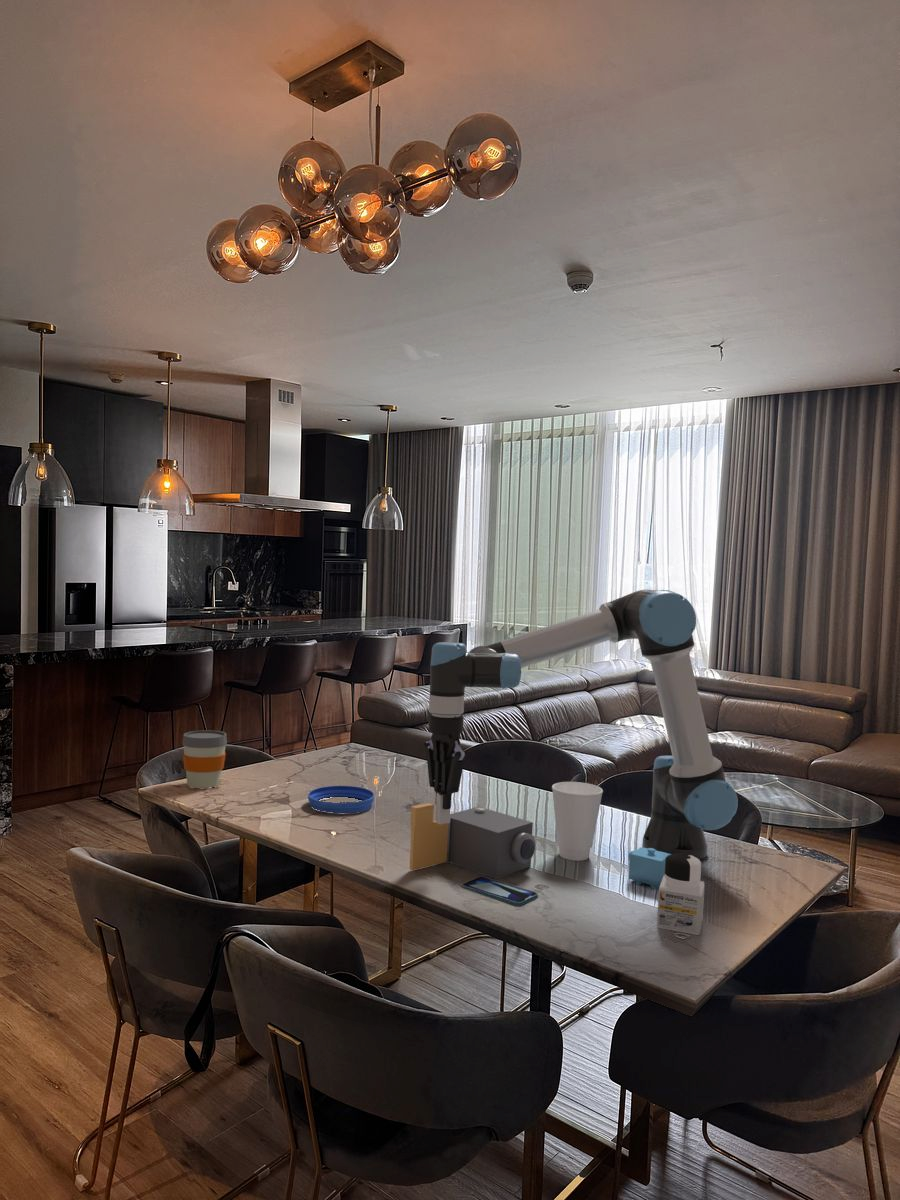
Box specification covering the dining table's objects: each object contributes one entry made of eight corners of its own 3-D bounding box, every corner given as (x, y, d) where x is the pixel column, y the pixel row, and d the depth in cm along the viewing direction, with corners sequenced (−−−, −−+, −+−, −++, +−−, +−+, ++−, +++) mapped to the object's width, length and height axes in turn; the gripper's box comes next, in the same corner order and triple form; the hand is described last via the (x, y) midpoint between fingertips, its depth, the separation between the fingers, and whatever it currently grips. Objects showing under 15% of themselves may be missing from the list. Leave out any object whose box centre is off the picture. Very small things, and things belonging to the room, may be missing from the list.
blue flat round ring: (366, 796, 240) (366, 784, 240) (380, 814, 223) (380, 801, 223) (303, 799, 234) (303, 786, 234) (312, 817, 217) (313, 804, 217)
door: (413, 871, 179) (415, 808, 179) (408, 869, 181) (411, 806, 180) (450, 862, 186) (453, 801, 186) (445, 860, 188) (448, 799, 187)
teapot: (686, 887, 178) (687, 852, 177) (675, 895, 173) (677, 860, 173) (633, 874, 185) (634, 840, 184) (621, 881, 180) (623, 847, 180)
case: (539, 869, 185) (541, 822, 184) (505, 882, 176) (507, 832, 176) (477, 848, 197) (478, 804, 197) (442, 859, 188) (444, 813, 188)
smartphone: (480, 875, 178) (539, 893, 169) (480, 880, 178) (539, 898, 169) (459, 884, 173) (519, 903, 163) (459, 889, 173) (519, 908, 163)
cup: (571, 867, 187) (574, 796, 187) (538, 851, 197) (541, 784, 197) (610, 859, 193) (613, 791, 193) (576, 844, 203) (579, 779, 203)
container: (656, 928, 156) (660, 859, 156) (661, 913, 163) (664, 847, 163) (699, 936, 153) (703, 866, 153) (702, 920, 160) (706, 853, 160)
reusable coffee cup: (171, 785, 242) (173, 733, 241) (206, 777, 252) (208, 728, 252) (199, 793, 235) (201, 740, 234) (234, 785, 245) (236, 734, 245)
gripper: (478, 717, 177) (474, 828, 177) (442, 708, 187) (439, 812, 188) (450, 720, 172) (446, 833, 173) (414, 710, 182) (411, 817, 183)
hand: (442, 822), depth 180 cm, fingers closed
